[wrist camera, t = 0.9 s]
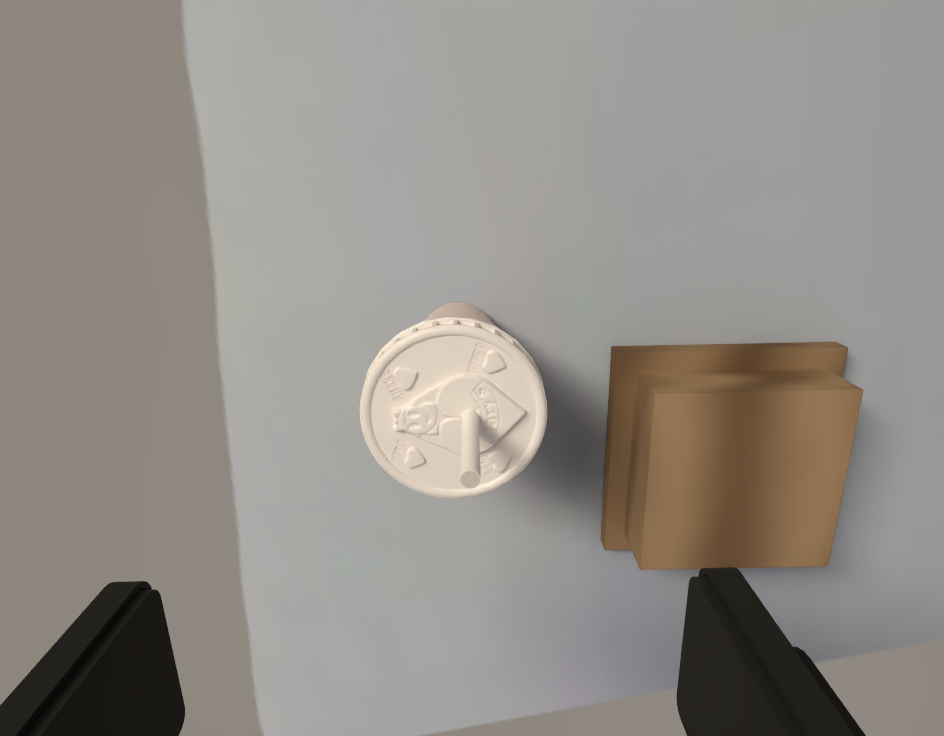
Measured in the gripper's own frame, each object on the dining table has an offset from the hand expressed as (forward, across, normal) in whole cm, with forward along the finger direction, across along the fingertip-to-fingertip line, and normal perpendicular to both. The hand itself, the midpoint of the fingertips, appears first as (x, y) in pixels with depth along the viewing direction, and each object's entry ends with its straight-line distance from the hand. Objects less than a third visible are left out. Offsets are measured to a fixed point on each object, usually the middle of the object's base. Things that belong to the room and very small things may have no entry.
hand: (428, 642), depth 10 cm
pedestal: (+19, -13, +6) cm, 24 cm away
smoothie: (+20, 0, 0) cm, 20 cm away
